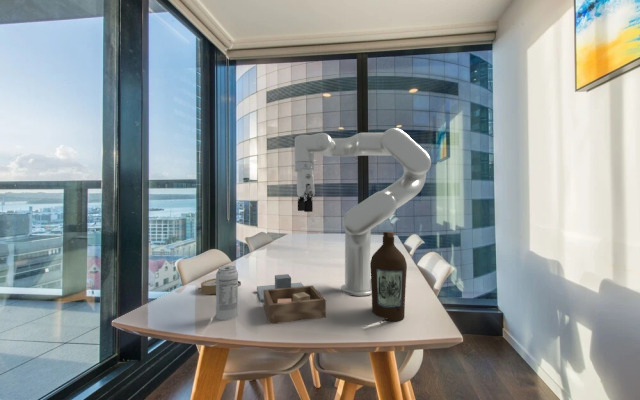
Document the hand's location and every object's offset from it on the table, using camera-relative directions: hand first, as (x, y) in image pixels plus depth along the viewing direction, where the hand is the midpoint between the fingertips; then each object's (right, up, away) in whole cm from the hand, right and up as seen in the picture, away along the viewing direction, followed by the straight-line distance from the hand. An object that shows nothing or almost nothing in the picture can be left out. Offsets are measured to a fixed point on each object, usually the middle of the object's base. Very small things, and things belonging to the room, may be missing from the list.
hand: (304, 211), depth 114 cm
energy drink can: (-21, -30, -30) cm, 47 cm away
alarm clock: (-32, -30, -3) cm, 44 cm away
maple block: (0, -29, -24) cm, 37 cm away
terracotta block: (-4, -29, -29) cm, 41 cm away
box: (-2, -30, -26) cm, 40 cm away
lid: (-8, -30, -9) cm, 32 cm away
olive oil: (+26, -30, -27) cm, 48 cm away
